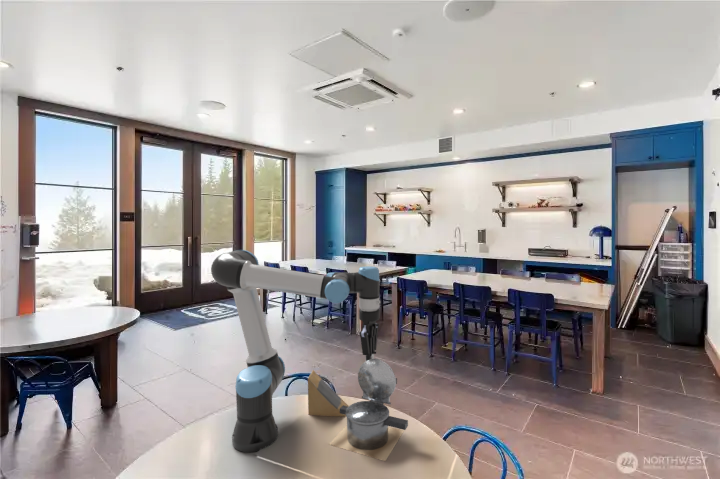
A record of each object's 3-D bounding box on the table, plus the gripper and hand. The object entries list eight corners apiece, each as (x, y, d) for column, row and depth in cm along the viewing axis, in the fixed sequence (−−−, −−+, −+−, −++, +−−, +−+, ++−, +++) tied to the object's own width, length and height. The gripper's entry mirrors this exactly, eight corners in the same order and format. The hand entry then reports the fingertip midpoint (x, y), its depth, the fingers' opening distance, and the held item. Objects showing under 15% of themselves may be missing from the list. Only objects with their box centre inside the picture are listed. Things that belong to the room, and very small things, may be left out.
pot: (331, 441, 123) (330, 415, 123) (352, 418, 137) (351, 395, 137) (399, 461, 113) (398, 433, 112) (414, 434, 127) (414, 408, 127)
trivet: (328, 446, 122) (328, 444, 122) (353, 419, 138) (353, 417, 138) (385, 463, 113) (385, 461, 113) (404, 432, 129) (404, 430, 129)
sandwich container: (348, 418, 139) (347, 379, 138) (308, 417, 140) (307, 378, 139) (350, 407, 147) (350, 370, 146) (313, 405, 149) (312, 369, 148)
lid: (358, 356, 135) (361, 354, 137) (357, 397, 135) (360, 395, 137) (395, 362, 128) (398, 360, 131) (394, 406, 128) (397, 403, 131)
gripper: (371, 314, 128) (372, 380, 129) (385, 305, 139) (385, 366, 141) (352, 312, 131) (353, 376, 132) (367, 304, 143) (367, 363, 144)
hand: (369, 371), depth 137 cm, fingers closed
